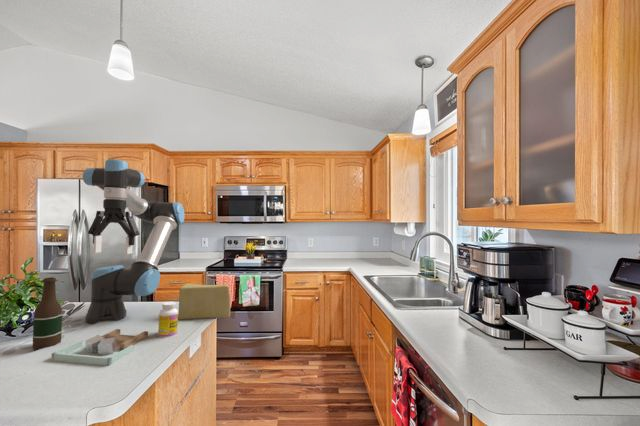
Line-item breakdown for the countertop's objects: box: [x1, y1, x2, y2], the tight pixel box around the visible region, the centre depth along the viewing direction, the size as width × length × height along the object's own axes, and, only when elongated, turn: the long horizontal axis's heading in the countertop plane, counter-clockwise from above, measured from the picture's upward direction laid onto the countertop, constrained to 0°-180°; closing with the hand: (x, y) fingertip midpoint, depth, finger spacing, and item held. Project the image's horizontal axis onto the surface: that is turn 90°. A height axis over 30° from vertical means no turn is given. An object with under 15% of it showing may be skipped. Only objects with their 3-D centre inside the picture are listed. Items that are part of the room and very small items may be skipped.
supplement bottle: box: [157, 301, 179, 338], centre depth 119 cm, size 7×7×13 cm
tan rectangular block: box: [178, 283, 231, 321], centre depth 143 cm, size 22×10×15 cm, turn 93°
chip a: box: [84, 334, 105, 354], centre depth 103 cm, size 4×4×4 cm
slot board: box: [101, 328, 149, 351], centre depth 110 cm, size 12×13×3 cm
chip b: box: [97, 337, 116, 356], centre depth 102 cm, size 4×4×4 cm
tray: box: [51, 340, 134, 366], centre depth 99 cm, size 10×20×3 cm, turn 83°
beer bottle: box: [32, 276, 63, 352], centre depth 107 cm, size 8×8×24 cm
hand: (113, 253), depth 120 cm, fingers open, 13 cm apart
